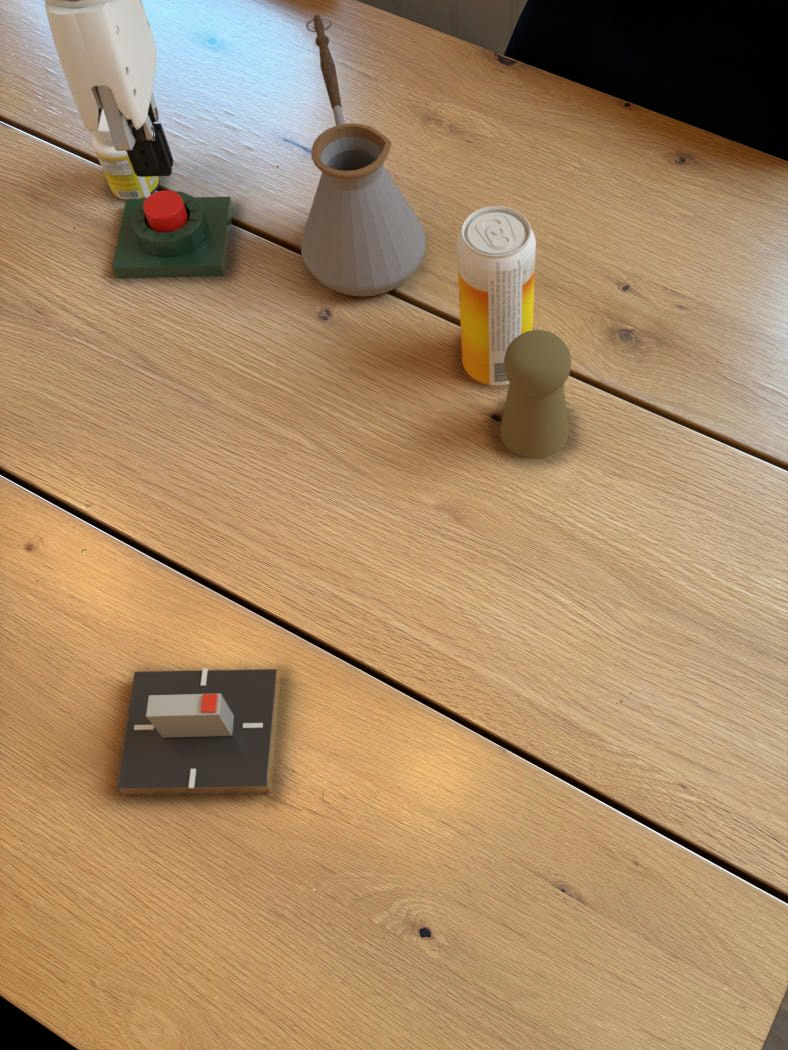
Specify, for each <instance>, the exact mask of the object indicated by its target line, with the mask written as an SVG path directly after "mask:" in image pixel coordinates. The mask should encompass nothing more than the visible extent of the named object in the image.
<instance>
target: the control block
mask: <svg viewBox="0 0 788 1050" xmlns="http://www.w3.org/2000/svg"><path fill="white" fill-rule="evenodd" d="M172 191H173V190H172ZM173 192H175V193H177V194H179V195H180V196H181V198H182V200H183V203H184V206H185V209H186V212H187V215H188V218H187V222H186V224H185V225H184V226H183V227H182V228H179V229H177V230H174V231H172V232H157V231H155V230H153V229H152V228H151V227H150V225H149V223H148V220H147V218H146V215H145V212H144V209H143V205H144V202H145V200H146V199H147V198H148V197H147V198H145V199H126V201H125V202H124V208H123V212H122V217H121V222H120V227H119V233H118V238H117V243H116V246H115V247H116V248H115V253H114V258H113V261H112V262H113V263H112V267H111V268H112V270H113V273H114V275H115V277H116V279H151V278H153V279H155V278H159V279H161V278H162V279H163V278H202V277H205V278H206V277H225V275H226V266H227V260H228V259H227V258H228V252H229V245H230V238H231V237H230V236H231V230H232V229H231V228H232V221H233V214H234V205H233V201H232V197H231V196H201V197H199V196H198V197H197V196H193V195H192V194H191V195H190V194H188V193H186V192H184V191H180V190H178V191H177V190H175V191H173Z"/></svg>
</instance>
